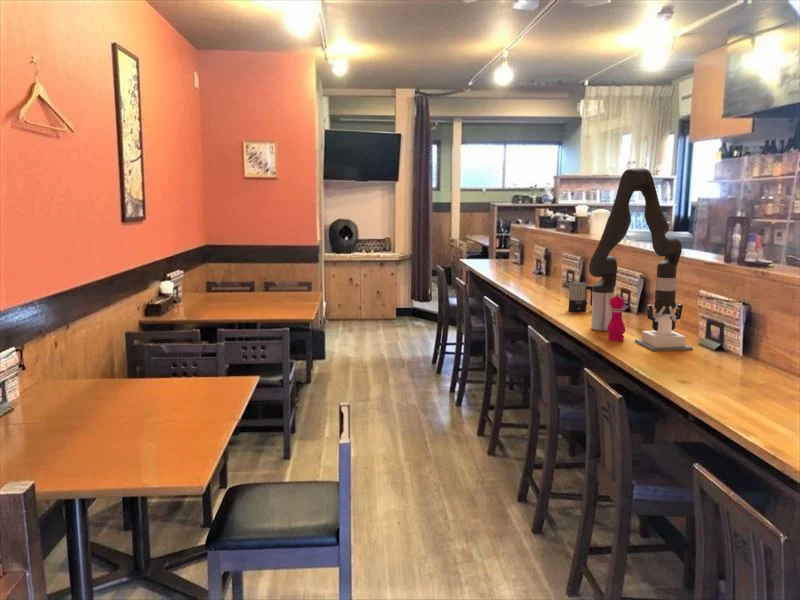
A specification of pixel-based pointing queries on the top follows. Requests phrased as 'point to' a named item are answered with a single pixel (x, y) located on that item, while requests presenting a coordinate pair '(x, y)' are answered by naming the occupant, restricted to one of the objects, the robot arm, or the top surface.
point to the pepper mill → (616, 319)
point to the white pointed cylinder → (664, 325)
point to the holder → (663, 341)
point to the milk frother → (578, 296)
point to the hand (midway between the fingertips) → (663, 329)
